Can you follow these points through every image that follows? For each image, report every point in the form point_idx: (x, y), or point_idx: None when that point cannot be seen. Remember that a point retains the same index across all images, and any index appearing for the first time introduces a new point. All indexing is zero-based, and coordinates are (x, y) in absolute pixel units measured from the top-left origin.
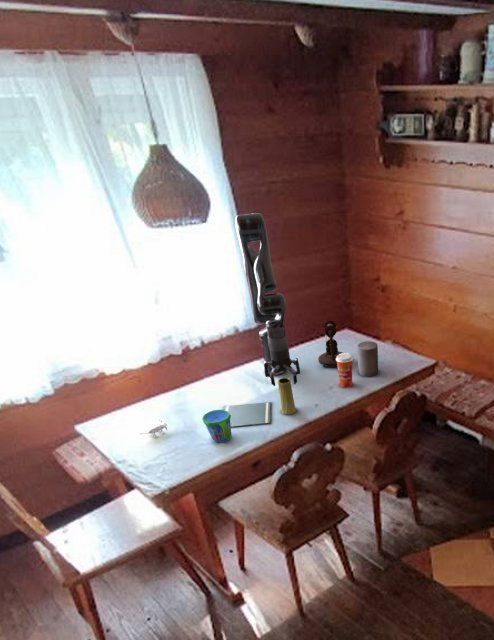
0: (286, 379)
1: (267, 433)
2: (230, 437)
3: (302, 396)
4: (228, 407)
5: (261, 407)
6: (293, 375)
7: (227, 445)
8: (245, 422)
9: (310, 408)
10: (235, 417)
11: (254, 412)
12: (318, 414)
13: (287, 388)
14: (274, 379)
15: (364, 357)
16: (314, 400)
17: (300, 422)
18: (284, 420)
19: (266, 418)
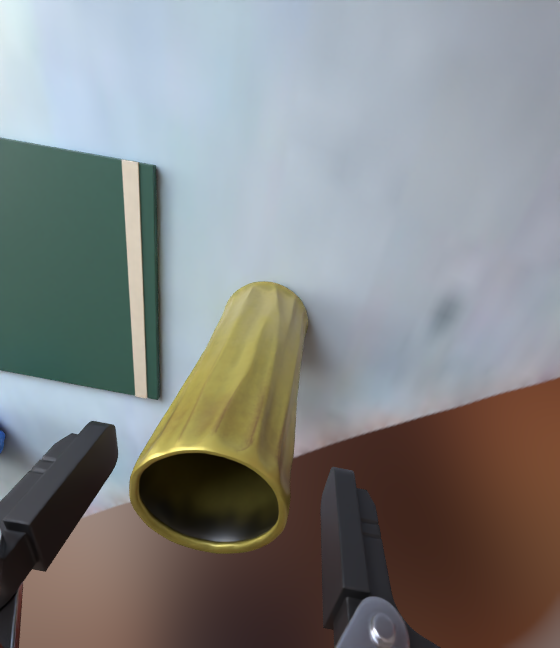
0: (246, 446)
1: None
2: (2, 447)
3: (407, 139)
4: None
5: (97, 224)
6: (335, 632)
7: (9, 470)
8: (36, 356)
9: (394, 335)
10: None
11: (63, 273)
12: (410, 406)
13: (245, 487)
14: (75, 469)
15: None
16: (464, 243)
17: (301, 436)
18: None
19: (138, 361)
